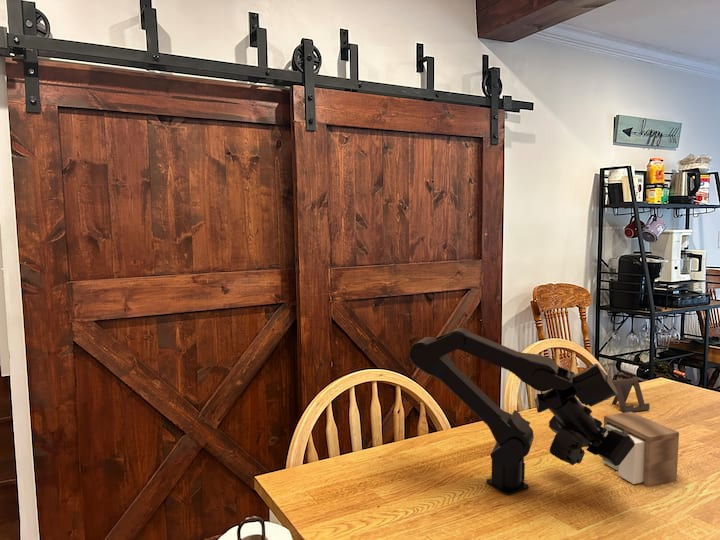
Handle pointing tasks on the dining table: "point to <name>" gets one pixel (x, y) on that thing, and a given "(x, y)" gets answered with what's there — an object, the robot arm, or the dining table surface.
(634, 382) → the portable electronic device stand
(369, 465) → the dining table surface
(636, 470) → the white plug
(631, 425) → the walnut housing
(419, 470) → the dining table surface
